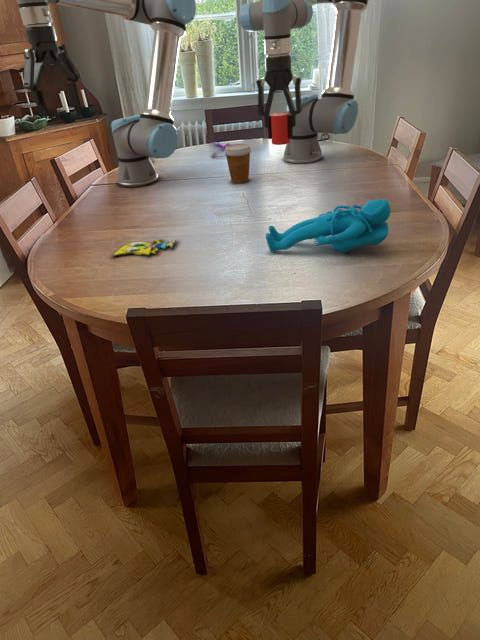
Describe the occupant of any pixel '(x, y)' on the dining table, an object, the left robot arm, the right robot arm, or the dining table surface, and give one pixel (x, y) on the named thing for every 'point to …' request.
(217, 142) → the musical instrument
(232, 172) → the disposable coffee cup
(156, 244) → the toy
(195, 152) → the dining table surface
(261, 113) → the right robot arm
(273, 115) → the can
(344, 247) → the toy
